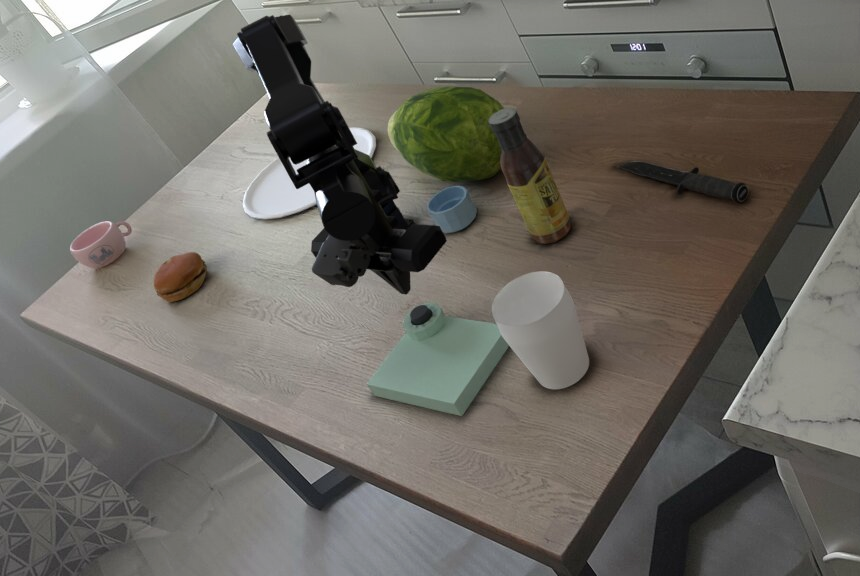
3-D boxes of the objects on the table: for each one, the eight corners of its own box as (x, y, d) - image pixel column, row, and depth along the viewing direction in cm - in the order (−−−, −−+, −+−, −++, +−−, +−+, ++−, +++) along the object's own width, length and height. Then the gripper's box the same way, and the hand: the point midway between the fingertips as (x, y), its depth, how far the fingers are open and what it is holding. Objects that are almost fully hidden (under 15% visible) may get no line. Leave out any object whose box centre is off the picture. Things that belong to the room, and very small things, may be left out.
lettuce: (438, 139, 159) (401, 67, 149) (544, 150, 141) (509, 69, 132) (386, 189, 152) (344, 116, 142) (490, 206, 134) (450, 125, 125)
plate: (401, 153, 160) (398, 148, 159) (269, 241, 153) (265, 236, 152) (346, 118, 182) (344, 113, 181) (229, 193, 175) (226, 188, 174)
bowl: (430, 234, 135) (418, 212, 132) (453, 206, 139) (442, 184, 136) (463, 236, 131) (451, 214, 128) (485, 208, 135) (474, 185, 132)
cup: (525, 354, 106) (488, 285, 98) (594, 332, 104) (561, 260, 97) (530, 407, 99) (491, 337, 91) (604, 384, 97) (569, 311, 90)
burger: (181, 306, 146) (165, 287, 144) (153, 300, 152) (137, 281, 149) (221, 268, 152) (206, 248, 149) (193, 263, 157) (178, 244, 154)
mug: (93, 280, 167) (72, 258, 164) (83, 265, 174) (63, 243, 171) (146, 244, 171) (127, 222, 167) (134, 230, 178) (116, 208, 175)
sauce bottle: (569, 242, 120) (517, 125, 108) (529, 249, 122) (474, 135, 110) (576, 213, 124) (528, 98, 112) (537, 220, 127) (486, 108, 115)
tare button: (410, 324, 113) (405, 317, 112) (421, 310, 114) (416, 303, 113) (424, 326, 111) (420, 319, 110) (435, 312, 113) (431, 305, 112)
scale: (373, 395, 110) (358, 375, 108) (430, 320, 118) (418, 300, 115) (462, 416, 102) (448, 395, 99) (517, 333, 109) (505, 312, 107)
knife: (753, 188, 112) (742, 180, 110) (737, 219, 113) (725, 212, 111) (635, 145, 130) (623, 138, 129) (621, 173, 131) (609, 166, 129)
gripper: (254, 238, 101) (320, 328, 111) (362, 248, 90) (425, 346, 100) (312, 180, 107) (370, 270, 117) (419, 183, 97) (473, 282, 106)
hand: (406, 292), depth 110 cm, fingers closed
